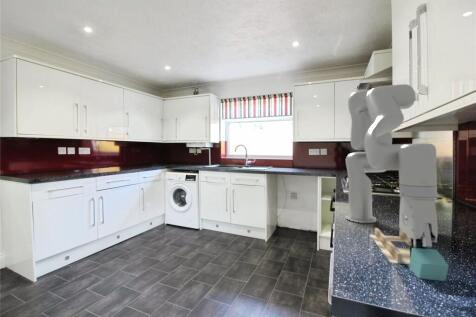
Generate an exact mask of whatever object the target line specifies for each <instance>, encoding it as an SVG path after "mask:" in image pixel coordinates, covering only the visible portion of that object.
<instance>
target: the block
mask: <svg viewBox="0 0 476 317" xmlns="http://www.w3.org/2000/svg"><path fill="white" fill-rule="evenodd" d="M408 268H409V270H411V271H412V273H413V274H414V275H415V276H416V277H417V278H418V279H423V280H432V281H441V282H446V279H447V275H448V271H449V264H448V263H447V262H446V260H445V259H444V258H443V257H442V255H441V254H440V252H439V251H438V250H437V249H433V248H431V249H430V248H428V249H420V248H412V251H411V257H410V263H409V264H408Z"/></svg>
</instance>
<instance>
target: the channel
mask: <svg viewBox="0 0 476 317" xmlns="http://www.w3.org/2000/svg"><path fill="white" fill-rule="evenodd" d="M398 232H399V236H398V235H397V236H395V235H386V234H384V233H383V232H382V231H381V230H380V229H379V228H378V227H374V234H370V233H369V236H370V237H371V239H372V240H373V241H374V243H375V244H376V245H377V247H378V248H379V249H380V251H382V253H383V255H384V256H385V257H386V259H387V260H388V262H390V263H394V264H402V265H409V263H410V248H406V247H405V248H403V247H396V246H395V245H394V244H393V243H392V242H401V243H406V245H408V246H409V247H410V246H412V245H410V244H409V236H408V235H407V234H406V233H404V232H403V231H402V230H401V229H400V228H399V229H398Z"/></svg>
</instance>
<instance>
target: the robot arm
mask: <svg viewBox="0 0 476 317" xmlns="http://www.w3.org/2000/svg"><path fill="white" fill-rule="evenodd" d="M415 101H416V91H415V90H414V88H413V86H412V85H409V84H406V83H403V84H391V85H389V84H388V85H381V86H376V87H373V88H371V89H362V90H358V91H354V92H352V93H351V94H349V97H348V101H347V106H348V111H349V115H350V118H351V130H350V146H351V148H352V149H353V150H359V151H355V152H351V153H348V154H347V156H346V158H345V166H346V170H347V182H348V214H346V215H345V219H346V220H347V219H348V220H347V221H349V220H350V222H353V221H354V222H353V223H358V222H359V223H360V224H373V223H376V222H377V218H376V217H375V216H373V191H372V190H373V189H372V188H373V186H372V185H373V184H372V181H371V179H370V178H369V176H367V175H366V173H367V174H368V173H384V172H386V171H398V181H399V182H398V183H399V184H398V186H399V188H398V189H399V197H400V199H399V216H398V225H399V229H401V230H402V231H403V232H404V233H406V234H407V235H408V236H409V244H410V245H412V246H409V249H410V257H411V251H412V248H420V249H429V248H433V242H431V240H432V241H435V240H437V241H438V233H439V232H438V217H437V208H436V202H435V201H436V200H437V199H438V182H437V181H438V179H437V178H438V175H437V174H438V173H437V148H436V146H435V144H432V143H428V142H427V143H425V142H423V143H400V144H399V143H397V144H393V136H392V133H391V132H392V131H395V130H396V129H398V128H399V127H400V126H401V125H402V124H403V122H404V121H405V117H404V113H403V111H402V110H406V109H410V108H411V107H412V106H413V105H414V104H415Z"/></svg>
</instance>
